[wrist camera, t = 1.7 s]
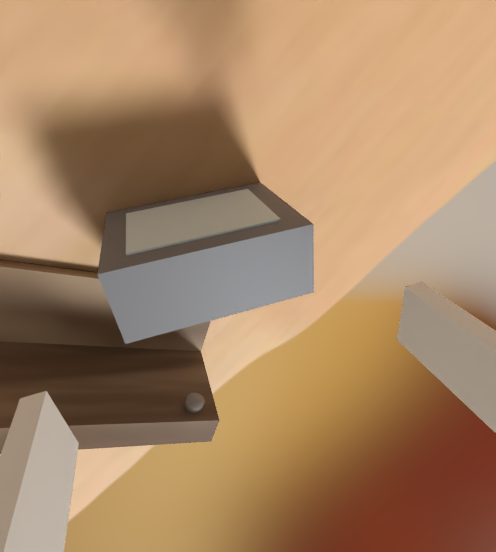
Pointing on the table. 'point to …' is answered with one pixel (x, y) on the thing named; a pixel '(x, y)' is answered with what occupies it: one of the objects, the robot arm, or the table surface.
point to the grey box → (203, 259)
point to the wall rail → (97, 363)
